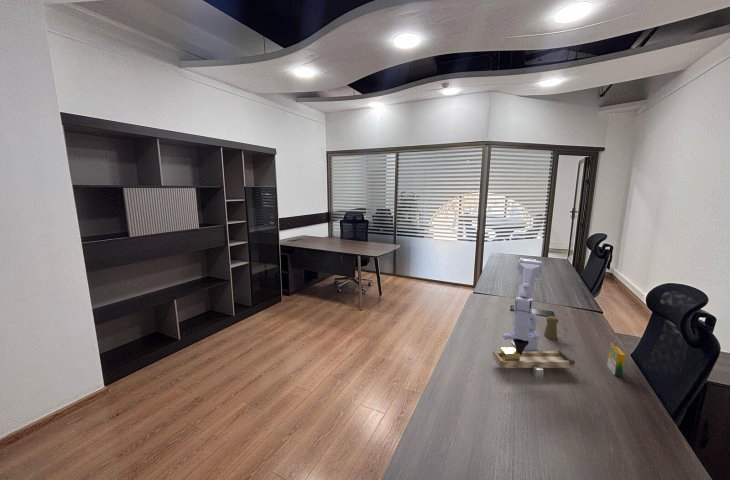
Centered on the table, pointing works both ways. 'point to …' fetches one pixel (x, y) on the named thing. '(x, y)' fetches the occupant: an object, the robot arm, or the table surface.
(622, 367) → the crayon box
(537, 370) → the grey rectangular bar
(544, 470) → the table surface
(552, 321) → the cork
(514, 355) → the block
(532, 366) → the beam
